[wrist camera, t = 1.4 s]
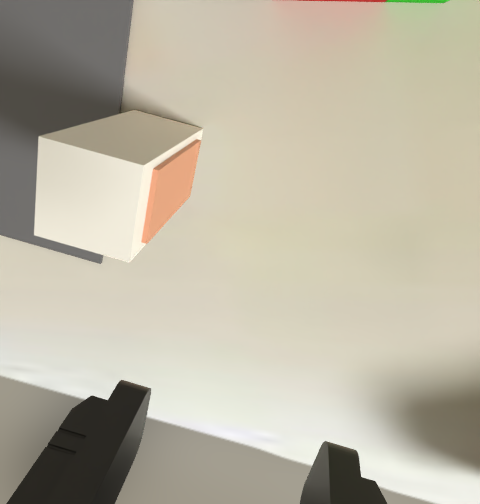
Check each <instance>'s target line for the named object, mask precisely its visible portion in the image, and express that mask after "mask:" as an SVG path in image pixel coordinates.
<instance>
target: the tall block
mask: <svg viewBox="0 0 480 504" xmlns="http://www.w3.org/2000/svg"><path fill="white" fill-rule="evenodd" d="M202 133H203V128H199V127H196V126H192V125H188V124H185V123H181V122H177V121H174V120H170V119H167V118H163V117H159V116H156V115H152V114H148V113H145V112H141V111H137V110H132V111H128V112H125V113H121V114H117V115H114V116H110V117H107V118H103V119H99V120H96V121H92V122H89V123H85V124H81V125H78V126H74V127H70V128H67V129H63V130H60V131H56V132H52V133H49V134H45V135H42V136H39V137H38V159H37V180H36V202H35V224H34V235H35V236H39V237H42V238H45V239H49V240H52V241H56V242H59V243H63V244H66V245H70V246H73V247H77V248H80V249H84V250H87V251H91V252H94V253H98V254H101V255H105V256H108V257H112V258H115V259H119V260H122V261H125V262H130V261H131V260H132V259H133V258H134V257H135V256H136V255H137V254H138V252H139V251H140V250H141V249H142V248H143V247H144V246H145V245H146V244H147V243H148V242H149V241H150V240H151V239H152V238H153V237H154V235H155V234H156V233H157V232H158V231H159V230H160V229H161V228H162V227H163V225H164V224H165V223H166V222H167V221H168V220H169V219H170V218H171V217H172V216H173V214H174V213H175V212H176V211H177V210H178V209H179V208H180V207H181V206H182V204H183V203H184V202H185V201H186V200H187V199H188V198H189V197H190V194H191V189H192V184H193V178H194V173H195V168H196V163H197V158H198V153H199V148H200V143H201V138H202Z"/></svg>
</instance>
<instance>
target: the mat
mask: <svg viewBox="0 0 480 504" xmlns="http://www.w3.org/2000/svg"><path fill="white" fill-rule="evenodd" d="M132 8H133V0H0V235H2V236H6V237H9V238H13V239H16V240H20V241H23V242H27V243H30V244H33V245H37V246H40V247H44V248H47V249H51V250H54V251H58V252H61V253H65V254H68V255H72V256H75V257H79V258H82V259H85V260H89V261H92V262H96V263H99V264H101V263H102V258H103V255H101V254H98V253H94V252H91V251H87V250H84V249H80V248H77V247H73V246H70V245H66V244H63V243H59V242H56V241H52V240H49V239H45V238H42V237H39V236H35V235H34V224H35V202H36V180H37V159H38V137H39V136H42V135H45V134H49V133H52V132H56V131H60V130H63V129H67V128H70V127H74V126H78V125H81V124H85V123H89V122H92V121H96V120H99V119H103V118H107V117H110V116H114V115H117V114H120V108H121V100H122V91H123V83H124V75H125V66H126V58H127V50H128V41H129V33H130V25H131V16H132Z"/></svg>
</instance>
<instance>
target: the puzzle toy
mask: <svg viewBox="0 0 480 504" xmlns="http://www.w3.org/2000/svg"><path fill="white" fill-rule="evenodd" d="M299 1H357V2H415V3H445V2H447V1H449V0H299Z"/></svg>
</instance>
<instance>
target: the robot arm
mask: <svg viewBox="0 0 480 504" xmlns="http://www.w3.org/2000/svg"><path fill="white" fill-rule="evenodd" d="M150 395H151V388H147V387H144V386H141V385H137V384H134V383H131V382H127V381H124V380H121V381H120V382H119V383H118V384H117V386H116V388H115V389H114V391H113V393H112V394H111V396H110V398H109V399H108V400H105V399H102V398H98V397H95V396H90V397H89V398H87V399H86V400H84V401H83V402H81V403H80V404H79V405H77V406H76V407H74V408H73V409H72V410H71V411H70V413H69V414H68V416H67V417H66V419H65V420H64V421H63V423H62V424H61V426H60V427H59V430H58V431H57V432H56V433H55V434H54V436H53V437H52V439H51V440H50V442H49V443H48V446H47V447H45V449H44V450H43V452H42V453H41V455H40V456H39V457H38V459H37V460H36V462H35V463H34V465H33V466H32V468H31V469H30V471H29V472H28V474H27V475H26V476H25V478H24V479H23V481H22V482H21V484H20V485H19V486H18V488H17V489H16V491H15V492H14V494H13V495H12V497H11V498H10V499H9V501H8V502H7V504H115V502H116V500H117V497H118V495H119V493H120V491H121V488H122V486H123V484H124V482H125V479H126V477H127V475H128V473H129V470H130V468H131V466H132V464H133V461H134V459H135V457H136V454H137V451H138V448H139V445H140V442H141V439H142V435H143V430H144V425H145V420H146V415H147V410H148V405H149V400H150ZM300 504H387V502H386V500H385V498H384V497H383V495H382V493H381V491H380V489H379V487H378V485H377V483H376V482H375V481H372V480H369V479H366V478H362V477H361V473H360V464H359V456H358V453H357V451H356V450H353V449H350V448H347V447H343V446H340V445H337V444H333V443H330V442H327V441H325V442H323V444H322V445H321V448H320V450H319V452H318V454H317V457H316V459H315V461H314V464H313V466H312V468H311V471H310V473H309V475H308V477H307V480H306V482H305V484H304V488H303V491H302V495H301V500H300Z"/></svg>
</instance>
